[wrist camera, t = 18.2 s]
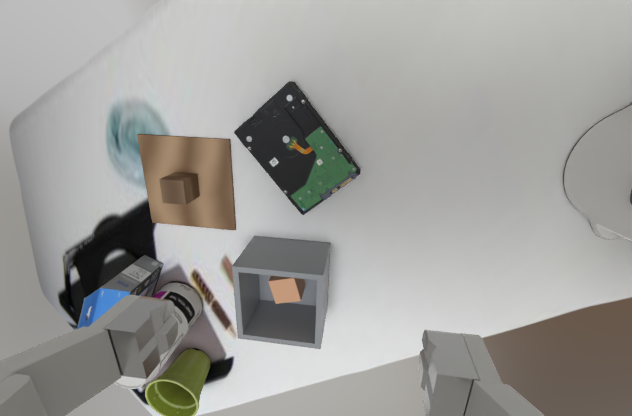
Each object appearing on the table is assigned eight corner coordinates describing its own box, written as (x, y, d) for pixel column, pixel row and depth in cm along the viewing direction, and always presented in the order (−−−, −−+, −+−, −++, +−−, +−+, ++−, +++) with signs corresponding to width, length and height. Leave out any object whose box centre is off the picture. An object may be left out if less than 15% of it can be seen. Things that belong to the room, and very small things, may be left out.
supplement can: (164, 315, 57) (101, 387, 44) (157, 277, 54) (87, 342, 41) (206, 320, 56) (155, 396, 43) (201, 282, 53) (144, 350, 40)
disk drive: (239, 130, 44) (306, 210, 46) (232, 133, 41) (302, 217, 44) (294, 80, 40) (362, 168, 43) (289, 79, 38) (362, 173, 40)
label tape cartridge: (151, 299, 57) (98, 352, 45) (132, 290, 56) (73, 341, 45) (164, 263, 53) (110, 310, 42) (143, 253, 53) (83, 297, 42)
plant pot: (197, 333, 58) (170, 372, 50) (229, 367, 60) (208, 411, 52) (164, 351, 61) (134, 391, 53) (195, 383, 63) (171, 426, 55)
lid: (231, 138, 44) (216, 144, 40) (237, 227, 49) (224, 241, 45) (141, 133, 46) (116, 138, 41) (156, 220, 51) (135, 233, 46)
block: (299, 263, 48) (294, 278, 44) (305, 285, 49) (301, 301, 46) (275, 266, 49) (268, 281, 45) (282, 288, 50) (275, 303, 47)
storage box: (330, 242, 47) (323, 275, 39) (327, 307, 52) (320, 349, 43) (254, 236, 49) (232, 266, 40) (257, 299, 53) (238, 338, 45)
